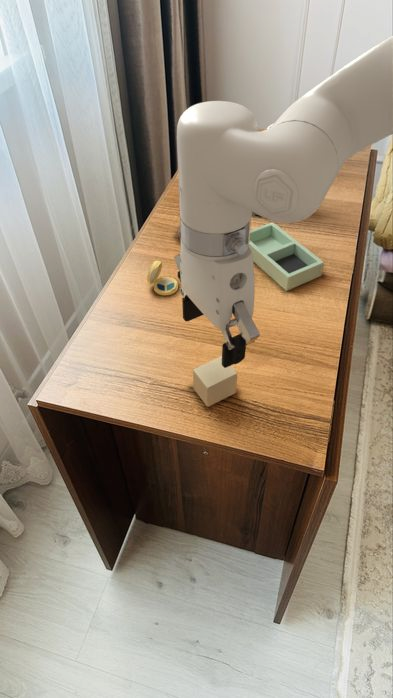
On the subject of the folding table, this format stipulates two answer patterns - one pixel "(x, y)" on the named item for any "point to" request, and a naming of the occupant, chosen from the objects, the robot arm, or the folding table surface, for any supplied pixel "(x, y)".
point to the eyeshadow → (161, 280)
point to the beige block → (214, 381)
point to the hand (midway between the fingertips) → (212, 338)
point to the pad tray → (283, 256)
